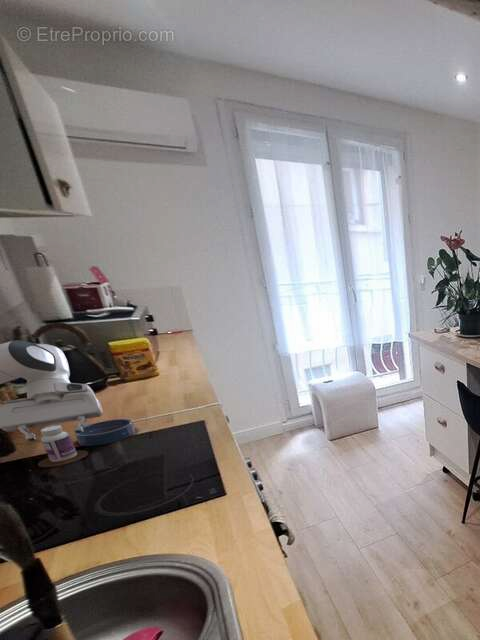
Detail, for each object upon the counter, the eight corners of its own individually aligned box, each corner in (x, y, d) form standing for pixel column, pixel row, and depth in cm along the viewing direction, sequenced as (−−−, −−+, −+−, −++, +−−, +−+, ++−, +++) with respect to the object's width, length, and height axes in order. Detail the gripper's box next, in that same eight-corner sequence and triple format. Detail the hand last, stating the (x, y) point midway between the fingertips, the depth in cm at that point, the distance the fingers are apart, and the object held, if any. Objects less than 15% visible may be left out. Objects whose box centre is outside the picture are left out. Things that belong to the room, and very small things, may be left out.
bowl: (80, 451, 124) (75, 439, 123) (78, 438, 133) (73, 427, 131) (138, 437, 134) (134, 426, 132) (133, 426, 142) (129, 415, 140)
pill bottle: (79, 452, 123) (66, 422, 119) (75, 458, 119) (63, 428, 115) (52, 457, 119) (39, 427, 116) (48, 464, 116) (34, 433, 112)
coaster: (38, 472, 113) (37, 470, 112) (38, 460, 119) (37, 458, 119) (90, 459, 120) (89, 457, 119) (87, 448, 126) (87, 447, 126)
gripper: (-11, 396, 113) (-7, 441, 109) (94, 383, 125) (100, 423, 121) (2, 407, 118) (5, 449, 114) (101, 393, 130) (107, 431, 126)
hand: (55, 435), depth 118 cm, fingers open, 8 cm apart
